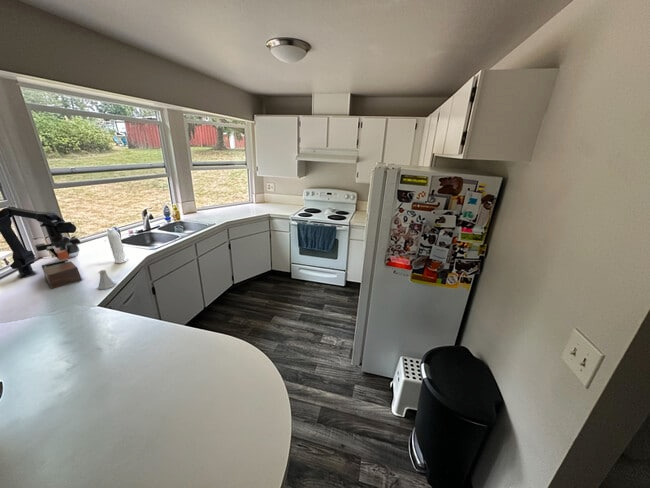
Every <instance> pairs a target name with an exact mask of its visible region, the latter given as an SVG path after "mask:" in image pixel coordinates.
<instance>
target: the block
mask: <svg viewBox="0 0 650 488" xmlns="http://www.w3.org/2000/svg"><path fill="white" fill-rule="evenodd" d="M55 252H56V254H57V256H58V258H57V259H58V260H59V261H62V260H68V259H70V257H69V255H68V252H67V251H66V250H62V251H60V250H58V251H55Z"/></svg>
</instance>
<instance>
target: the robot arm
mask: <svg viewBox="0 0 650 488" xmlns="http://www.w3.org/2000/svg"><path fill="white" fill-rule="evenodd" d="M13 217H21V218H27V219H32V220H35V221H37V222H39V223H41V224H40V225H39V227H40V228H41V227H42V228H43V227H44V228H45V229H46V233H47V237H48V238H49V239H48V240H49V241H50V243H47V244H46V243H45V242H43V243H38V244H34V248H35V250H36V251H37V252H41V251H47V252H51V253H52V254H53V255H54V256H55V257H56V258H57V259H58V256H57V254H56V252H57V251H56V250H55V249H59V248H60V247H66V251H67V252H68V255H69V252H70V248H71V246H73V244H77V245H78V244H81V240H80V238H78V237H75V238H71V237H70V239H69V238H63V237H64V236H63V234H75V233H76V232H77V226H76V225H75V224H74V223H72V221H66V220H64V219H63V218H62V217H60V216H59V215H58V214H57V212H55V211H36V210H31V209H25V208H21V207H15V206H8V207H4V208H2V209H1V210H0V235H1V237H2V238H3V239H4V241H5V242H6V244H7V245H8V247H9V248H10V250H11V252H12V260H13V262H11V264H10V266H9V267H10V268H11V269H12V270H17V272H18V276H19V279H23V278H26V277H31V276H34V275H35V276H36V275H37V273H36V271H35V270H34V269H33V267H32V264H34V263H35V260H36V254H34V252H33V250H28V249H27V248H25V247H24V245H23V244H22V242H21V240H20V239H19V236H18V235H17V234H16V233H15V231H14V229H13V228H12V223H13V221H12V218H13ZM54 247H55V248H54Z"/></svg>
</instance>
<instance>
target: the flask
mask: <svg viewBox="0 0 650 488" xmlns="http://www.w3.org/2000/svg"><path fill="white" fill-rule="evenodd" d="M98 274H99V282H98V286H97V288H98V289H100V290H108V289H110V288H112V287H114V286H115V285H116V283H115V282H114V281H113V280H112V279H111V278H110V277H109V276H108V274H107V270H106V269H102V270H99V271H98Z"/></svg>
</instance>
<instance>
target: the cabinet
mask: <svg viewBox="0 0 650 488" xmlns="http://www.w3.org/2000/svg"><path fill="white" fill-rule="evenodd" d="M41 269H42V272H43V274H44V277H45V279H46V281H47V283H48V284H49V286H50V287H51V289H55V288H56V289H57V288H60V287H62V286H66V285H70V284H74V283H77V282H81V281H82V280H83V279H82V277H81V274H80V271H79V268H78V266H77V265H76V264H74V263H73V261H71V260H70V261H68V262H66V263H61V264H57V265H53V266H49V267H44V268H42V267H41Z"/></svg>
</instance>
